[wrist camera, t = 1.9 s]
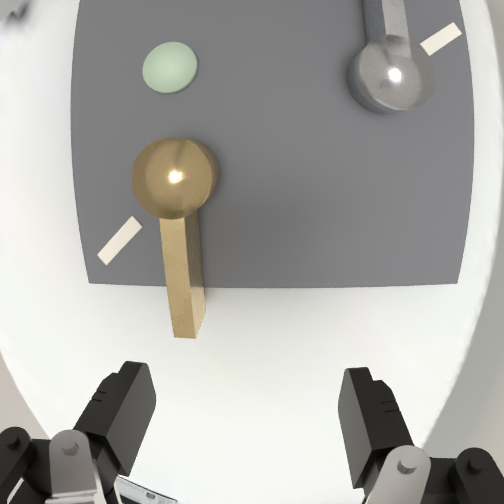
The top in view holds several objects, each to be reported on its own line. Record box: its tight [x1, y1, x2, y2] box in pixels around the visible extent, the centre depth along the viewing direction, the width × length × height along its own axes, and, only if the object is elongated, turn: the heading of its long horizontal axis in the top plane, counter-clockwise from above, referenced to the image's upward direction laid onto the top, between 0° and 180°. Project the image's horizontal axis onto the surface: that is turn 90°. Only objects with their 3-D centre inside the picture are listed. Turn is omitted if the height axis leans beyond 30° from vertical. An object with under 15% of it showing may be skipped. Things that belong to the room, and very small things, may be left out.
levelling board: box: [71, 0, 474, 288], centre depth 20 cm, size 29×33×2 cm
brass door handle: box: [131, 137, 220, 339], centre depth 21 cm, size 14×5×4 cm, turn 1°
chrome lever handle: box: [347, 0, 435, 114], centre depth 16 cm, size 14×5×4 cm, turn 1°
